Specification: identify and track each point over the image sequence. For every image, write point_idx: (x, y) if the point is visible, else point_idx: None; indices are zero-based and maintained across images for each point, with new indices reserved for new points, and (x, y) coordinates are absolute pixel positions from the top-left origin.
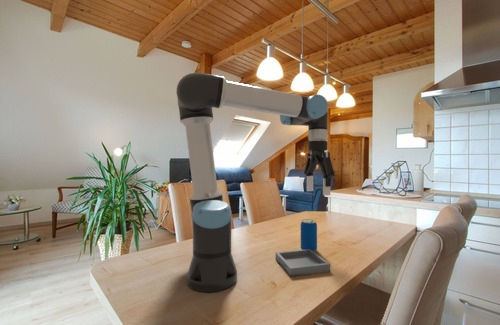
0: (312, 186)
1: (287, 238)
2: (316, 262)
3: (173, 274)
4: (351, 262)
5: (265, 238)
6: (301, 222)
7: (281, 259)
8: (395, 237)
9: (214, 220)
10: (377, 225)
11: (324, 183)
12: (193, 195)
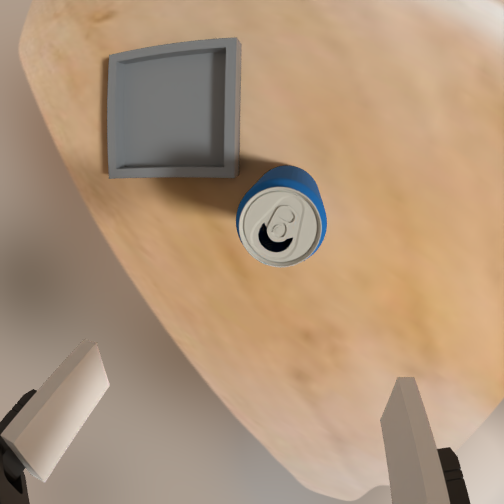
0: (388, 449)
1: (439, 185)
2: (166, 160)
3: None
4: (162, 269)
5: (463, 99)
6: (296, 187)
7: (176, 43)
8: (295, 467)
9: None
10: (387, 484)
11: (29, 404)
12: None
